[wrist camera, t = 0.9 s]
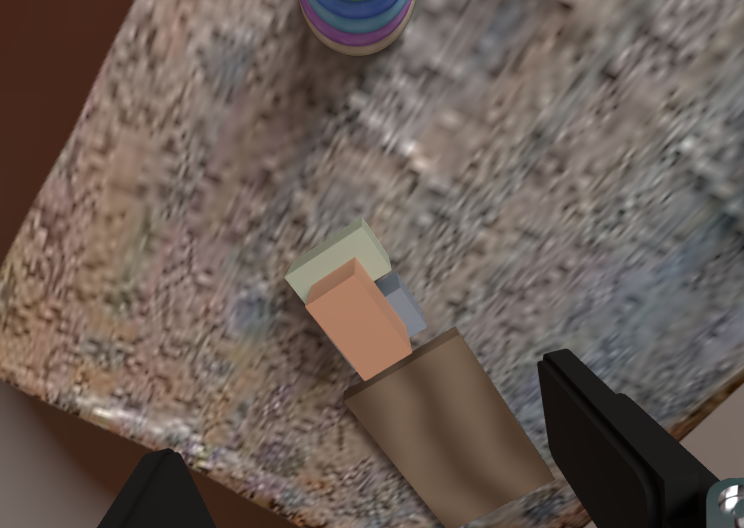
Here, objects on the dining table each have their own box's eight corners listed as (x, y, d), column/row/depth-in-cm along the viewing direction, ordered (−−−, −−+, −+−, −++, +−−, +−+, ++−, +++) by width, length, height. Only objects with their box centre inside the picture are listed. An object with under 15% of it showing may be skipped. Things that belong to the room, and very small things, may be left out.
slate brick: (396, 270, 35) (400, 287, 31) (420, 306, 36) (427, 327, 32) (329, 312, 36) (325, 334, 32) (354, 346, 37) (353, 370, 33)
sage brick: (361, 216, 33) (362, 226, 30) (388, 255, 35) (391, 270, 31) (292, 261, 35) (284, 277, 31) (320, 297, 36) (315, 317, 32)
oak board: (455, 326, 36) (459, 334, 35) (548, 467, 42) (554, 479, 40) (344, 391, 38) (343, 401, 37) (446, 519, 43) (449, 532, 42)
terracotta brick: (312, 285, 31) (305, 306, 27) (355, 256, 30) (354, 274, 27) (364, 352, 33) (364, 381, 29) (406, 326, 32) (412, 352, 28)
